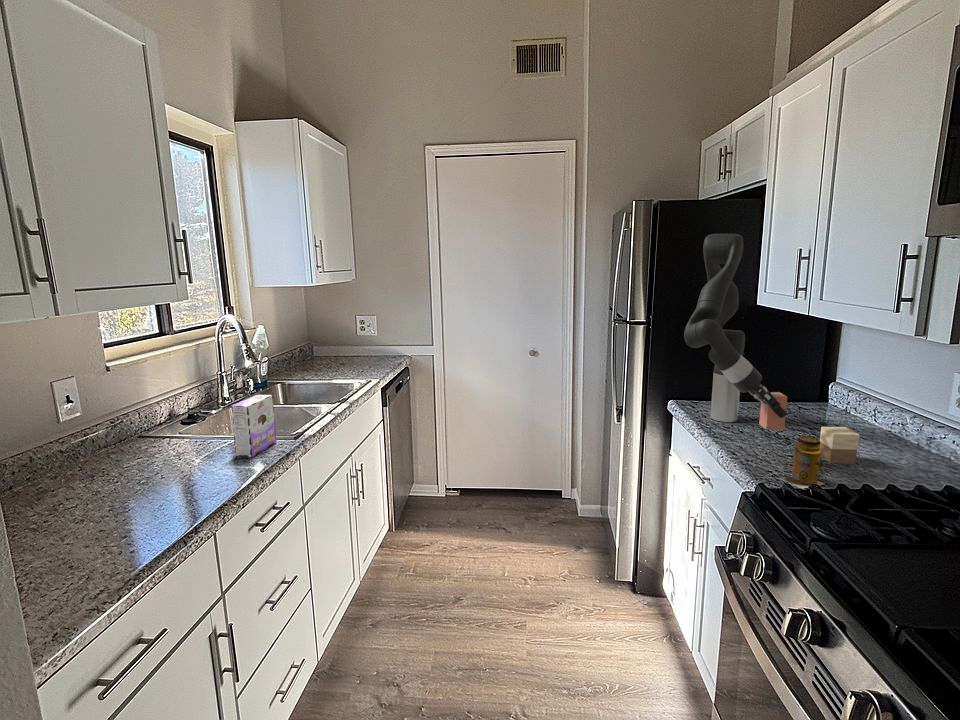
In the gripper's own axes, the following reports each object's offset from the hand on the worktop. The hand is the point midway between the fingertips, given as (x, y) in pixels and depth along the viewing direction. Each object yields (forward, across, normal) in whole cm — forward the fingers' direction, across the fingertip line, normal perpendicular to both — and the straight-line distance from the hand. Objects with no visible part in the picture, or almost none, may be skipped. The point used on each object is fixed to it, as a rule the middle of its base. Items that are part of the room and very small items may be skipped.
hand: (779, 412), depth 160 cm
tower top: (+19, 0, -6) cm, 20 cm away
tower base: (+22, 0, -2) cm, 23 cm away
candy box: (-104, -3, +123) cm, 161 cm away
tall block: (+2, 0, +4) cm, 5 cm away
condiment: (+9, -18, +10) cm, 23 cm away
